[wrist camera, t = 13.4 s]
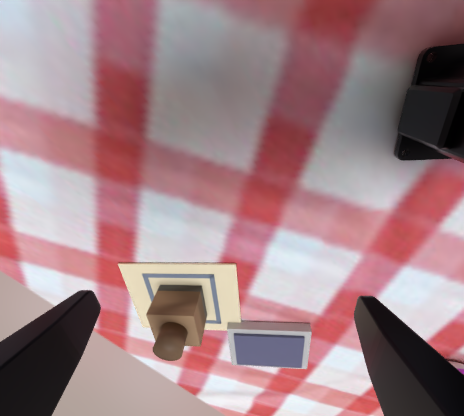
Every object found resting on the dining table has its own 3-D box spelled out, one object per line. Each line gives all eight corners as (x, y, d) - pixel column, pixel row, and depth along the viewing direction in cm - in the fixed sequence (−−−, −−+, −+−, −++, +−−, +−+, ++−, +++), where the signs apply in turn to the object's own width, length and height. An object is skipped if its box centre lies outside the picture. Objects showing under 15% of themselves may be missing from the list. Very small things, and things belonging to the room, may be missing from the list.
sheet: (236, 263, 23) (235, 265, 23) (241, 329, 28) (241, 331, 27) (118, 262, 24) (117, 264, 24) (143, 325, 29) (142, 327, 29)
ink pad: (309, 323, 26) (312, 334, 25) (305, 360, 29) (307, 371, 28) (228, 320, 27) (226, 331, 26) (232, 356, 30) (231, 367, 29)
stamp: (201, 285, 25) (188, 337, 20) (207, 314, 27) (195, 368, 22) (159, 284, 25) (136, 335, 20) (168, 313, 27) (149, 365, 22)
